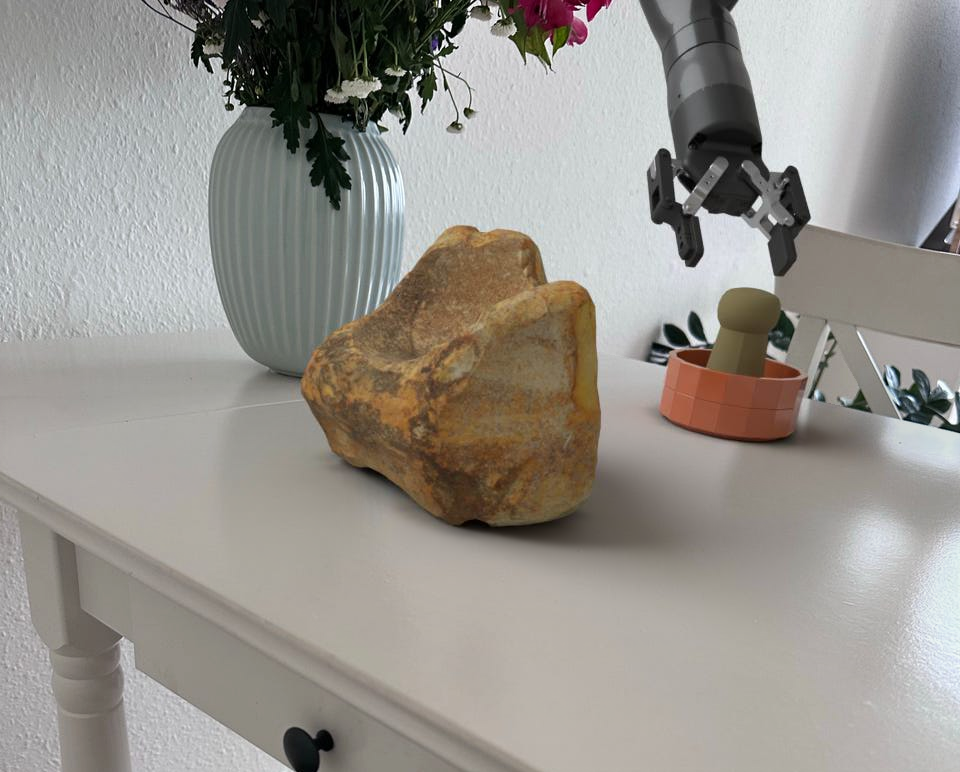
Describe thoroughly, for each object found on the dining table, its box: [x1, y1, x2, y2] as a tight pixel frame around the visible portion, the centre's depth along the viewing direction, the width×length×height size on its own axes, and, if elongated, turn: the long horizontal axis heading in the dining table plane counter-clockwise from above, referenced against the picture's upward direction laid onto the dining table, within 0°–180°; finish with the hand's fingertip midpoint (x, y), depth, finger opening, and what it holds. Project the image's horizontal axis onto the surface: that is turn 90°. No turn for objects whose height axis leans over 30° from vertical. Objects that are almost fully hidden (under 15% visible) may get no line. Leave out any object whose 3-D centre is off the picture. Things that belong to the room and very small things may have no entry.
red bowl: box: [658, 347, 809, 442], centre depth 85 cm, size 12×12×6 cm
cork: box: [706, 286, 782, 378], centre depth 83 cm, size 6×6×11 cm
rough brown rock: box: [300, 224, 602, 527], centre depth 60 cm, size 23×17×15 cm
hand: (740, 266), depth 83 cm, fingers open, 8 cm apart
